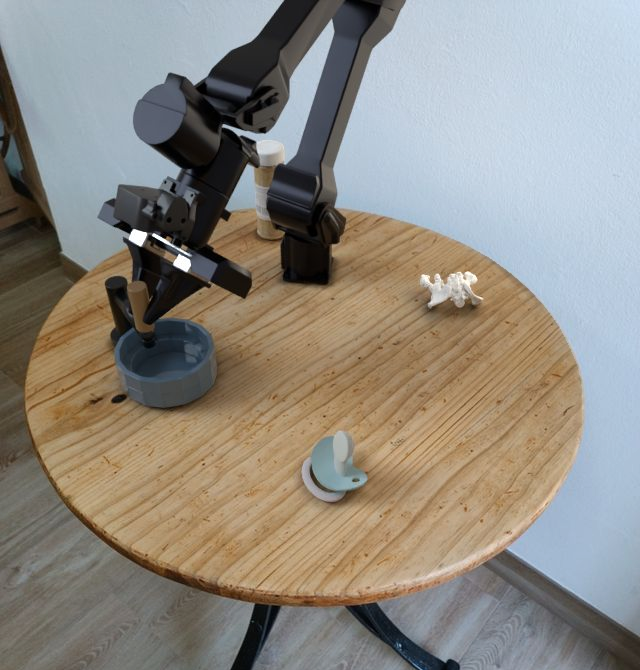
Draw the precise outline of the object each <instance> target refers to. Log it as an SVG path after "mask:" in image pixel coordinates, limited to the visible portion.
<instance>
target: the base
mask: <svg viewBox="0 0 640 670" xmlns="http://www.w3.org/2000/svg"><path fill="white" fill-rule="evenodd" d="M109 338H110V340H111V345H112V346H113V348H115V347H116V345H117V343H118V341H119V339H120V337H119V336H118V335H117V331H116V327H113V328H112V329H111V331H110V334H109Z"/></svg>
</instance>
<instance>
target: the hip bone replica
mask: <svg viewBox="0 0 640 670" xmlns="http://www.w3.org/2000/svg"><path fill="white" fill-rule="evenodd" d="M430 279H431V277H430V275H428V274H420V280H419V285H420V287H422V288H423V289H428V292H430V293H431V296H430V302H428V303H427V307H428V308H429V309H432V307H434V306H437V305H439V304H441V303H444V302H446V301H447V300H448V299H449V300H450V301H453V304H454V305H455V307H457V308H459V309H460V308H463V307H464V306H465V304H466V303H465V300H468V299H469V298H470V300H471V304H472V305H478V304H480V303H482V302H483V301H484V297H480V296H478V295H477V294H475V293H474V292H473V290H472V288H471V286H473V285H475V284H477V282H478V278H477V276H476V275H475V274H473V273H472V272H470V271H465V272H464V273H462V272H461V271H457V272H455V273H449V276H448V277H447V278H446V279H447V282H446V283H444V279H442V278H441V275H440V274H439V273H435V274H434V276H433V279H434V281H435V282H433V283H432V282H431V281H430Z"/></svg>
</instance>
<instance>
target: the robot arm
mask: <svg viewBox="0 0 640 670" xmlns="http://www.w3.org/2000/svg"><path fill="white" fill-rule="evenodd" d="M406 3H407V0H283V1H282V2H281V4H280V5H279V6H278V8H277V9H275V12H274V13H273V14H272V16H271V17H270V18H269V20H268V21H267V22H266V24H265V25H264V26H263V28H262V29H261V31H260V32H259V33H258V34H257V35H256V36H255V37H254V38H253V39H252V40H251V41H249V42H247V43H245V44H242V45H240V46H238V47H235V48H233V49H231V50H229V51H228V52H227V53H226V54H225V55H224V56H223V57H222V58H221V59H220V60H219V61H217V63H216V64H215V65H213V67H211V69H210V71H209V72H208V74H207V76H205V77H204V78H202V79H201V80H200V81H198V82H197V83H195V84H194V83H192V81H191V80H190V79H189V78H188V77H187V76H184V75H182V74H181V75H180V74H178V73H174V72H172V71H171V72H168V73H167V75H166V77H165V79H164V83H160V84H157V85H155V86H153V87H152V88H150V89H149V90H148V91H147V92H146V93H145V94H144V95H143V96H142V97H141V99H139V100H138V101H137V102H136V105H135V106H134V111H133V115H132V124H133V129H134V132H135V134H136V136H137V137H138V138H139V140H140V141H142V142H144V143H145V144H146V145H148V146H149V147H150V148H152V149H153V150H154V151H156V152H157V153H158V154H160V155H161V156H163V157H164V158H165V159H167V160H168V161H170V162H171V163H172V164H174V165H175V166H177V168H180V170H179V172H178V175H177V176H176V178H175V179H174V178H172V177H171V176H170V175H167V176H166V178H164V179H163V180H162V182H161V184H160V185H159V187H158V188H154V187H151V186H145V185H144V186H143V185H133V184H123V183H120V184H118V185H117V190H116V197H113V198H111V199H108V200H106V201H104V202H103V205H102V207H101V209H100V211H99V213H98V215H97V219H99V221H100V220H101V221H102V222H104V223H106V224H107V225H109V226H111V227H113V228H115V229H118V230H120V231H122V232H124V233H126V234H128V235H129V236H128V238H127V237H124V236H122V242H123V243H124V244H126V247H127V248H128V252H129V254H130V257H131V260H132V265H131V267H132V269H131V270H132V272H131V280H130V281H131V282H134V281H143V282H145V283H146V285H147V290H148V295H149V299H150V302H149V305H148V307H147V309H146V312H145V315H144V318H143V323H145V324H147V325H152V324H153V323H154V322H156V321H157V320H158V319H162V317H164V316H165V315H166V314H168V312H170V311H171V310H172V309H174V308H175V307H176V306H178V305H179V304H181V303H182V302H183V301H185V300H187V299H188V298H189V297H191V296H193V295H194V294H195V293H197V292H199V291H200V290H202V289H204V288H206V289H211V288H212V287H213V285H216V286H217V287H220V288H221V289H224V290H225V291H228V293H232V294H233V295H235V296H237V297H239V298H241V299H243V300H246V298H247V296H248V295H249V293H250V290H251V288H252V287H253V273H252V272H251V271H250V270H248V269H246V268H244V267H243V266H241V265H239V264H237V263H236V262H234V261H232V260H230V259H229V258H227V257H225V256H223V255H222V254H219V253H218V252H216V251H214V249H215V247H213V246H212V245H210V244H209V241H210V240H211V238H212V235H213V234H214V231H215V230H216V228H217V226H218V223H219V222H220V220H223V221H225V222H227V223H228V222H229V220H230V217H231V216H232V212H231V211H229V210H228V209H226V208H227V206H228V204H229V202H230V199H231V198H232V196H233V193H234V192H235V190H236V187H237V185H238V184H239V182H240V179H241V178H242V176H243V174H244V172H245V169H246V167H248V166H251V167H253V168H254V167H255V168H259V166H260V158H259V155H258V152H257V142H258V141H256V140H254V139H252V138H250V137H248V136H245V135H243V134H240V135H238V134H237V133H236V132H235V131H234V130H232V129H230V128H229V127H231V128H234V129H238V130H240V131H244V132H249V133H253V134H256V135H260V134H262V135H266V134H267V133H269V132H270V131H271V130H272V129H273V128H274V127H275V125H276V124H277V122H278V120H279V119H280V117H281V116H282V114H283V111H284V109H285V108H286V106H287V104H288V102H289V100H290V96H291V92H290V89H291V87H290V83H291V81H290V80H291V78H292V77H293V74H294V72H295V71H296V69H297V68H298V67H299V65H300V64H301V62H302V61H303V60H304V58H305V56H306V55H308V52H309V51H310V50H311V48H312V47H313V45H314V44H315V43H316V41H317V40H318V39H319V37H320V36H321V34H322V33H323V32H324V31H325V29H326V27H327V26H328V25H329V23H330V22H332V26H333V27H332V28H333V36H332V38H331V39H332V40H331V43H330V45H329V49H328V52H327V55H326V58H325V62H324V64H323V68H322V71H321V75H320V78H319V81H318V83H317V87H316V91H315V94H314V97H313V100H312V103H311V106H310V109H309V113H308V116H307V119H306V122H305V126H304V128H303V132H302V135H301V138H300V142H299V145H298V149H297V150H296V151H297V152H296V154H295V155H294V156H293V157H292V158H291V159H290V160H288V162H287V163H286V164H282V163H279V164H278V165H277V167H276V168H275V170H274V175H273V179H272V183H271V185H270V188H269V190H268V191H267V195H268V196H267V199H266V209H267V211H268V214H269V217H270V219H271V222H272V225H273V228H274V229H275V230H280V231H282V232H285V234H284V235H283V237H281V242H280V244H279V245H280V247H279V248H280V249H279V250H280V269H281V270H282V271H283V273H282V277H281V278H282V280H283V281H284V282H293V283H303V284H315V285H323V286H325V285H328V284H329V283H330V279H331V274H332V269H333V265H334V261H335V260H334V259H335V257H334V256H333V245H338V244H339V243H340V242H341V236H343V234H344V233H345V230H346V224H347V217H346V216H345V215H343V213H341V212H340V211H339V210H338V209H337V208H336V207H335V206H336V202H337V198H338V187H337V182H336V177H335V171H334V167H335V164H336V160H337V157H338V155H339V152H340V148H341V145H342V142H343V140H344V137H345V133H346V130H347V128H348V124H349V121H350V119H351V115H352V112H353V109H354V106H355V103H356V100H357V96H358V93H359V91H360V88H361V86H362V85H361V84H362V82H363V79H364V76H365V73H366V69H367V66H368V63H369V60H370V57H371V54H372V52H373V49H374V48H375V47H376V46H377V45H379V44H380V43H381V41H382V40H383V39H385V38H386V37H387V36H388V35H389V34H390V33H391V32H392V31H393V29H394V27H395V25H396V23H397V20H398V18H399V15H400V13H401V10H402V9H403V8H404V7H405V5H406ZM223 125H225V126H228V128H227V127H224V126H223ZM167 238H170V239H171V240H170V241H169V240H167ZM182 246H184V247H186V250H185V249H184V248H182ZM166 253H169V254H171V255H173V256H175V259H174V261H173V262H172V261H171V260H169V259H168V258H166V257H165V255H166ZM131 282H130V283H131ZM128 313H129V314H131V315H133V312H132V307H131V303H130V299H129V308H128Z"/></svg>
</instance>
